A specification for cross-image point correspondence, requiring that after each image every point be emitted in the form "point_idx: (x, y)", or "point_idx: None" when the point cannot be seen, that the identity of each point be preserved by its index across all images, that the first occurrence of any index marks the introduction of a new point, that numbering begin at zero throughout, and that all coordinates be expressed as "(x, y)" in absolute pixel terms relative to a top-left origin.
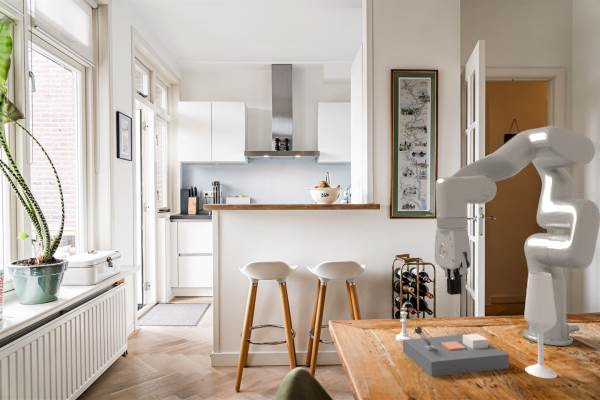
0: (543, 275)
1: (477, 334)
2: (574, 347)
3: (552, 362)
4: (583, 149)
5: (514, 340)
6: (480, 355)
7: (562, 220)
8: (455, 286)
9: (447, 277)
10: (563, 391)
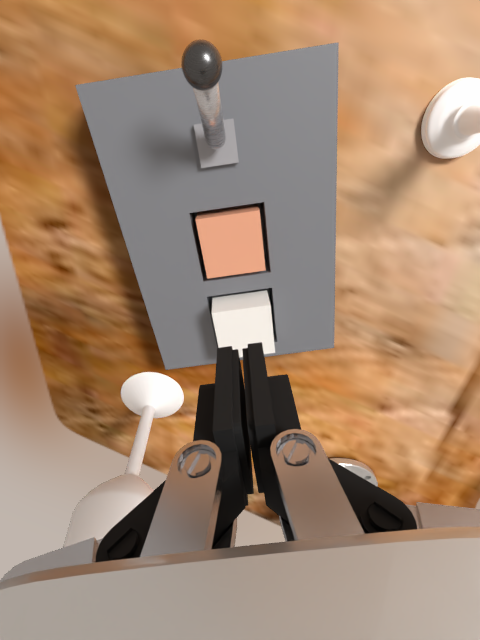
0: None
1: (267, 350)
2: None
3: None
4: None
5: (335, 432)
6: (153, 296)
7: None
8: (198, 415)
9: (275, 438)
10: (60, 387)
